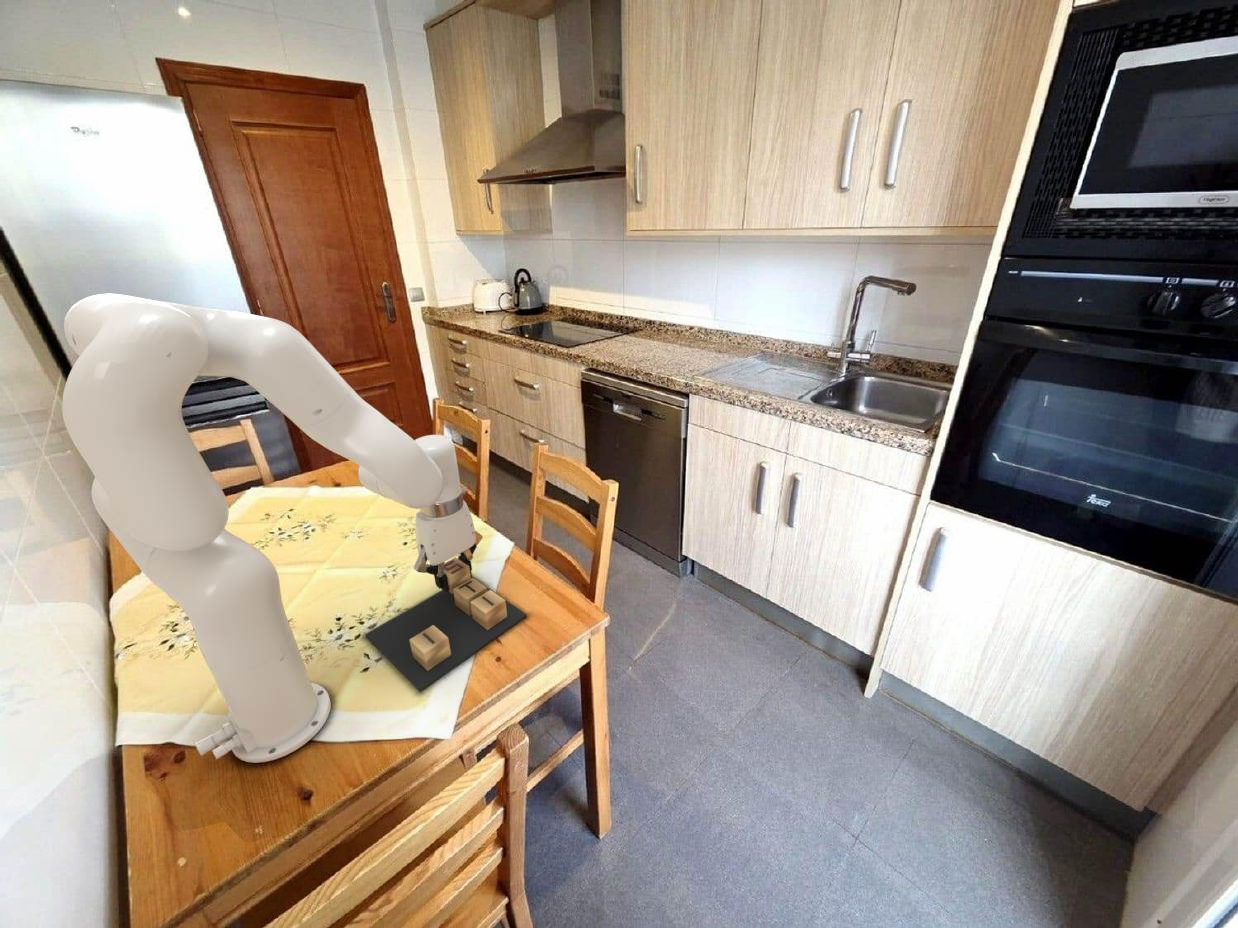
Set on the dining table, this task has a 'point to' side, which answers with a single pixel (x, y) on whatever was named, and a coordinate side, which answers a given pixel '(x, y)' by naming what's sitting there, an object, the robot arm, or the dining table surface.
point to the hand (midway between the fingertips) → (454, 580)
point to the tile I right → (488, 609)
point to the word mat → (450, 621)
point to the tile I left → (430, 647)
